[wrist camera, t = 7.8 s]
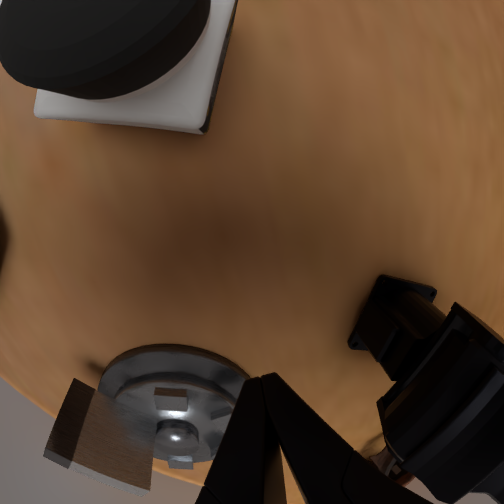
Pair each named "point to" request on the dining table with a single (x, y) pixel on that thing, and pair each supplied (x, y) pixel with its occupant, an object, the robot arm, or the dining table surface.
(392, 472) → the pottery mug
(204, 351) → the flange
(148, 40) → the medicine bottle
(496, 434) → the robot arm
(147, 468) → the grey studded disc
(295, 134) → the dining table surface
